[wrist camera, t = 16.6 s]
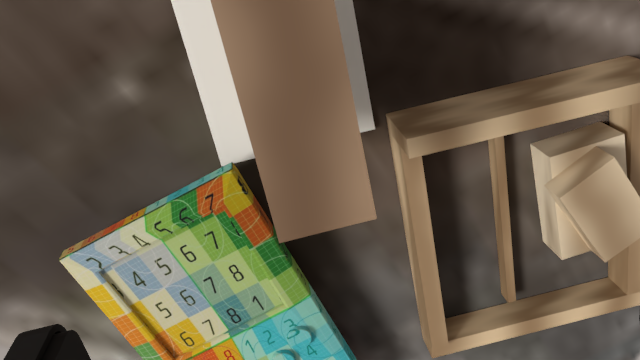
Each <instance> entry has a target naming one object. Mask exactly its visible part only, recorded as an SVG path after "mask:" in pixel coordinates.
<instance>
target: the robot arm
mask: <svg viewBox="0 0 640 360" xmlns="http://www.w3.org/2000/svg"><path fill="white" fill-rule="evenodd" d="M639 319H640V317H639ZM4 360H91V359H90V357H89V355H88V353H87V351H86V349H85V347H84V345H83V343H82V341H81V339H80V337H79V335H78V333H77V332H75V331H74V330H69V331H66V329H65V328H64V327H63V326H62V325H59V324H55V325H51V326H47V327H43V328H39V329H35V330H30V331H26V332H23V333H21V334H19V335H18V336H17V337H16V339H15V340H14V342H13V344H12V346H11V347H10V349H9V351H8V353H7V355H6V356H5V358H4Z"/></svg>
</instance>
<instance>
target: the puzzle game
mask: <svg viewBox="0 0 640 360" xmlns="http://www.w3.org/2000/svg"><path fill="white" fill-rule="evenodd" d="M59 261H60V262H61V263H62V264H63V266H64V267H65V268H66V269H67V270H68V271H69V273H70V274H71V275H72V276H73V277H74V278H75V280H76V281H77V282H78V283H79V284H80V285H81V287H82V288H83V289H84V290H85V291H86V292H87V294H88V295H89V296H90V297H91V298H92V299H93V301H94V302H95V303H96V304H97V305H98V306H99V308H100V309H101V310H102V311H103V312H104V313H105V315H106V316H107V317H108V318H109V319H110V320H111V322H112V323H113V324H114V325H115V326H116V327H117V329H118V330H119V331H120V332H121V333H122V335H123V336H124V337H125V338H126V339H127V340H128V342H129V343H130V344H131V345H132V346H133V348H134V349H135V350H136V351H137V352H138V354H139V355H140V356H141V357H142V358H143V360H357V359H356V357H355V356H354V354H353V352H352V351H351V349H350V348H349V346H348V344H347V343H346V341H345V340H344V338H343V337H342V335H341V333H340V332H339V330H338V329H337V327H336V325H335V324H334V322H333V321H332V319H331V317H330V316H329V314H328V313H327V311H326V309H325V308H324V306H323V305H322V303H321V301H320V300H319V298H318V297H317V295H316V293H315V292H314V290H313V289H312V287H311V285H310V284H309V282H308V281H307V279H306V278H305V276H304V274H303V273H302V271H301V270H300V268H299V266H298V265H297V263H296V262H295V260H294V258H293V257H292V255H291V254H290V252H289V250H288V249H287V247H286V246H285V244H284V242H283V243H279V241H278V237H277V234H276V230H275V228H274V226H273V225H272V223H271V222H270V220H269V218H268V217H267V215H266V214H265V212H264V211H263V209H262V207H261V206H260V204H259V203H258V201H257V199H256V198H255V196H254V195H253V193H252V191H251V190H250V188H249V187H248V185H247V183H246V182H245V180H244V179H243V177H242V175H241V174H240V172H239V171H238V169H237V168H236V166H235V165H234V164H233V162H231V163H229V164H227V165H225V166H223V167H221V168H220V169H218V170H216V171H214V172H212V173H210V174H208V175H206V176H204V177H202V178H201V179H199V180H197V181H195V182H193V183H191V184H189V185H187V186H185V187H184V188H182V189H180V190H178V191H176V192H174V193H172V194H170V195H168V196H166V197H165V198H163V199H161V200H159V201H157V202H155V203H153V204H151V205H149V206H148V207H146V208H144V209H142V210H140V211H138V212H136V213H134V214H132V215H130V216H129V217H127V218H125V219H123V220H121V221H119V222H117V223H115V224H113V225H112V226H110V227H108V228H106V229H104V230H102V231H100V232H98V233H96V234H94V235H93V236H91V237H89V238H87V239H85V240H83V241H81V242H79V243H77V244H76V245H74V246H72V247H70V248H68V249H66V250H64V251H63V252H62V254H61V256H60V258H59Z"/></svg>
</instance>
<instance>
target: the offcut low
mask: <svg viewBox="0 0 640 360" xmlns="http://www.w3.org/2000/svg"><path fill="white" fill-rule="evenodd" d="M530 146H531V154H532V161H533V169H534V176H535V184H536V191H537V199H538V206H539V214H540V221H541V229H542V237H543V242H544V243H545V244H546V245H547V246H548V247H549V248H550V249H551V250H552V251H553V252H554V253H555V254H556V255H557V256H558V257H559V258H560V259H561V260H563V259H566V258H570V257H573V256H576V255H579V254H582V253H585V252H588V251H592V250H591V249H590V248H588V246H587V245H586V243H585V242H584V241H583V239H582V238H581V236H580V235H579V234H578V232H577V231H576V229H575V228H574V227H573V225H572V224H571V223H570V221H569V220H568V218H567V217H566V216H565V214H564V213H563V211H562V210H561V209H560V207H559V206H558V204H557V203H556V202H555V200H554V199H553V197H552V196H551V195H550V193H549V192H548V190H547V189H546V188H545V186H544V185H545V184H546V183H547V182H549V181H550V180H551V179H553V178H554V177H555V176H557V175H558V174H559V173H561V172H562V171H563V170H565V169H566V168H567V167H569V166H570V165H571V164H573V163H574V162H575V161H577V160H578V159H579V158H581V157H582V156H583V155H585V154H586V153H587V152H589V151H590V150H591V149H593V148H594V147H595V146H596V147H598V148H600V149H602V150H603V151H605V152H607V153H608V154H610V155H612V156H613V157H615V159H616V160H617V162H618V163H619V165H620V166H621V168H622V170H623V171H624V173H625V174H626V176H627V168H626V151H625V134H624V133H622V132H620V131H618V130H616V129H614V128H612V127H610V126H608V125H606V124H604V123H602V122H598V123H594V124H591V125H588V126H585V127H582V128H579V129H575V130H572V131H569V132H566V133H563V134H560V135H556V136H553V137H550V138H547V139H544V140H540V141H537V142H534V143H531V144H530Z"/></svg>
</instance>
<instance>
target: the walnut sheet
mask: <svg viewBox="0 0 640 360" xmlns="http://www.w3.org/2000/svg"><path fill="white" fill-rule="evenodd" d="M210 1H211V4H212V8H213V11H214V15H215V18H216V22H217V25H218V29H219V32H220V36H221V39H222V43H223V47H224V50H225V54H226V57H227V61H228V64H229V68H230V71H231V75H232V78H233V82H234V85H235V89H236V92H237V96H238V99H239V103H240V107H241V110H242V114H243V117H244V121H245V124H246V128H247V131H248V135H249V138H250V142H251V145H252V149H253V152H254V156H255V159H256V163H257V167H258V170H259V174H260V177H261V181H262V184H263V188H264V191H265V195H266V198H267V202H268V205H269V209H270V212H271V216H272V219H273V223H274V227H275V230H276V234H277V237H278V241H279V243H283V242H287V241H291V240H294V239H298V238H302V237H306V236H310V235H314V234H318V233H322V232H326V231H330V230H334V229H338V228H342V227H346V226H350V225H354V224H358V223H361V222H365V221H369V220H373V219H377V217H376V212H375V207H374V202H373V197H372V191H371V186H370V181H369V176H368V171H367V166H366V161H365V156H364V151H363V145H362V140H361V135H360V130H359V125H358V120H357V115H356V110H355V104H354V99H353V94H352V89H351V84H350V79H349V74H348V69H347V63H346V58H345V53H344V48H343V43H342V38H341V33H340V28H339V22H338V17H337V12H336V7H335V2H334V0H210Z"/></svg>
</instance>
